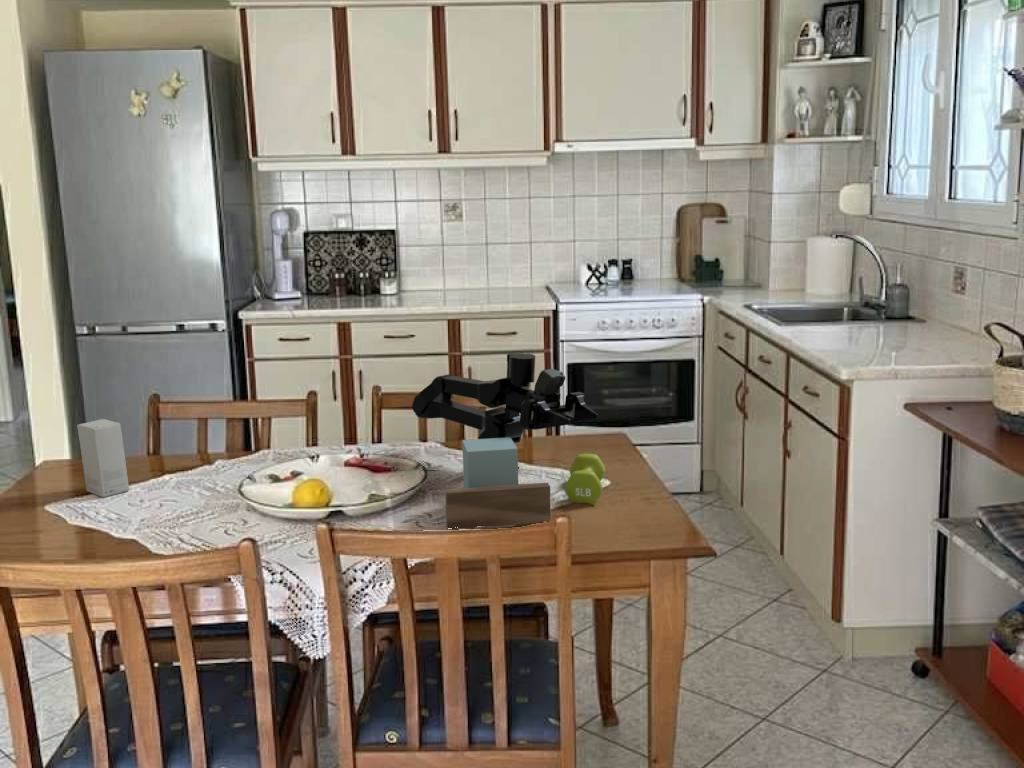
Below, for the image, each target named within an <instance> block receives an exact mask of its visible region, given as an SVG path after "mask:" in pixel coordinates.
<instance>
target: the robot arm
mask: <svg viewBox="0 0 1024 768" xmlns="http://www.w3.org/2000/svg"><path fill="white" fill-rule="evenodd" d="M506 363H507V364H506V376H505V377H503V378H499V379H498V378H497V379H492V380H480V379H473V378H470V377H469V378H468V377H463V376H456V375H454V374H452V373H448V374H447V373H446V374H443V375H439V376H436V377H435V378H433V380H432V381H431V382H430V383H429V384H428V386H426V387H424V388H423V389H422V390H421V391H420V392H419V393H417V395H415V396H414V398H413V400H412V401H413V402H412V404H411V405H412V411H413V413H414V414H415V416H416V417H417V418H419V419H428V420H430V419H443V420H448V421H451V422H454V423H457V424H460V425H464V426H467V427H470V428H473V429H476V430H479V431H481V433H480V435H478V438H477V439H490V438H507V437H511V439H512V441H513V442H514V444H516V443H520V442H521V438H522V435H523V432H524V430H526V431H532V430H535V431H536V430H537V431H538V430H541V429H550V428H557V427H562V426H569V425H570V424H571V422H573V423H580V422H588V421H589V422H590V421H596V420H598V419H599V414H598V413H597V412H595V411H594V410H593V409H592V408H590V407H589V406H588V405H587V396H588V395H587V394H586V393H585V392H584V393H583V392H581V391H577V392H576V391H575V392H569V393H568V394H567V395H565V399H564V400H565V402H564V404H561V403H560V399H561V393H558V392H559V390H560V387H563V385H564V383H565V381H566V375H565V374H564V372H563V371H561V370H560V371H559V370H558V369H555V368H549V369H543V370H541V371H540V373H539V374H538V377H537V379H536V381H535V377H536V376H535V371H536V355H535V354H532V353H515V352H512V353H508V354H506ZM531 383H535V385H534V389H533V390H532V389H529V388H528V387H529V386H530V385H531ZM526 387H527V388H526ZM454 395H456V396H459V397H466V398H470V399H471V398H472V399H474V400H477V401H478V402H479V404H481V405H482V406H485V407H487V408H490V409H488V410H483V409H480V408H477V407H473V406H470V405H466V404H462V403H459V402H456V401H453V398H454V397H453V396H454ZM519 468H520V466H518V469H519ZM519 470H520V469H519Z"/></svg>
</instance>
